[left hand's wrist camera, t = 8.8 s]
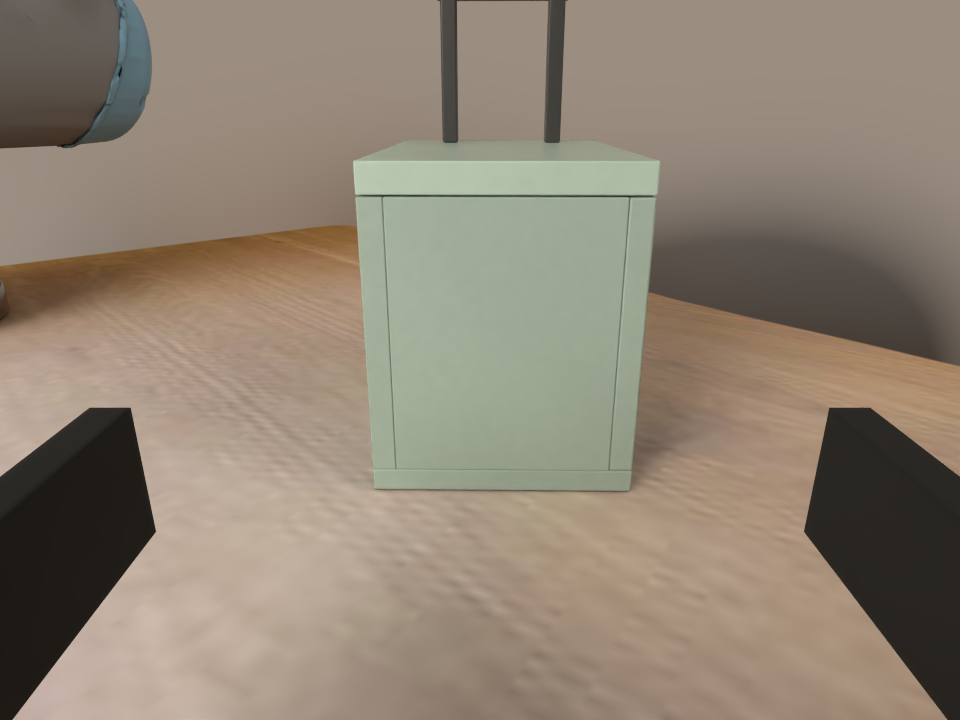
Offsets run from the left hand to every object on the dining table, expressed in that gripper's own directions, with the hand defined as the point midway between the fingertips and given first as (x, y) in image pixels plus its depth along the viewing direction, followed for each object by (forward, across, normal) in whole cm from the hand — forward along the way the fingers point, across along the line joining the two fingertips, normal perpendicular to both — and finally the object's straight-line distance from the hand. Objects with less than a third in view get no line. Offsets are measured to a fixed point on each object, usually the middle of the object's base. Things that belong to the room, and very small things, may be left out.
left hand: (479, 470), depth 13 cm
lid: (+17, +1, +4) cm, 18 cm away
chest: (+17, +1, -7) cm, 18 cm away
